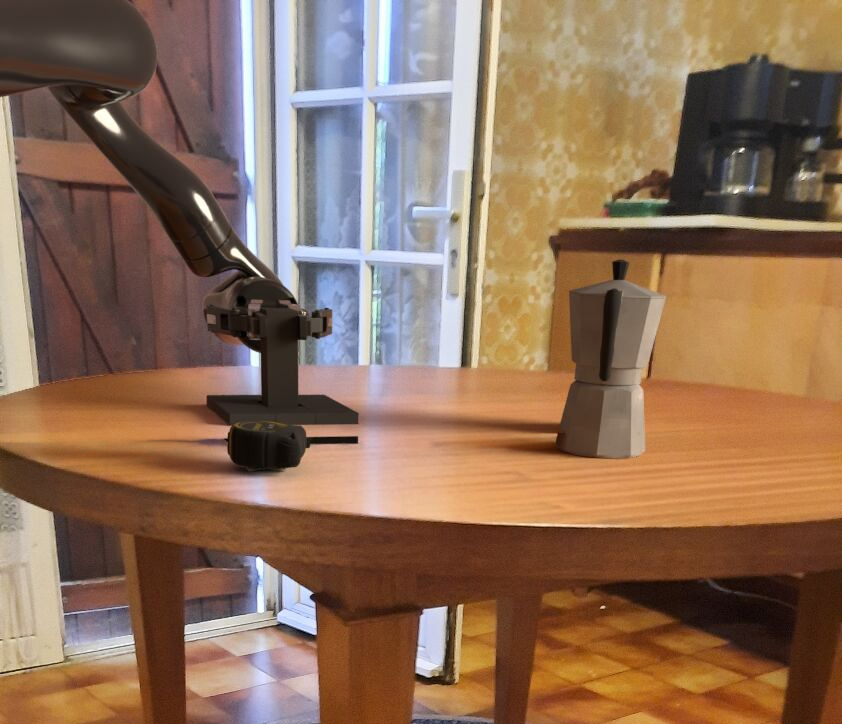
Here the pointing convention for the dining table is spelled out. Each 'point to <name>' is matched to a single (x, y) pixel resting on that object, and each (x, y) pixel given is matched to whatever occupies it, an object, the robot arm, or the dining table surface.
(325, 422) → the base pad
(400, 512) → the dining table surface
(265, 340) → the bar
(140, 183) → the robot arm
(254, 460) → the tape measure
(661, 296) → the coffeepot
